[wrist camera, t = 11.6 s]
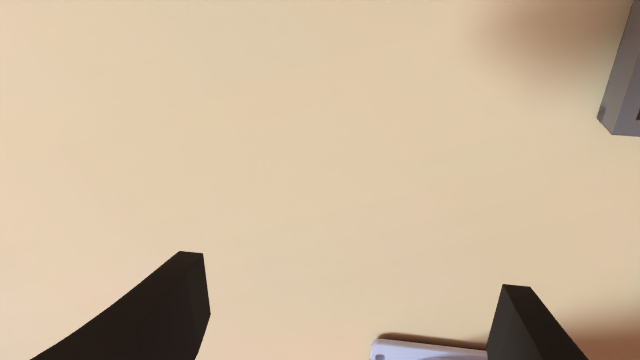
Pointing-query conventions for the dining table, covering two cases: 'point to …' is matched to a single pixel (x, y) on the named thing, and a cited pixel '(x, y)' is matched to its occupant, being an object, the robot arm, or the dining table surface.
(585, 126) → the dining table surface
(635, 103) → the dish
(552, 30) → the dining table surface
